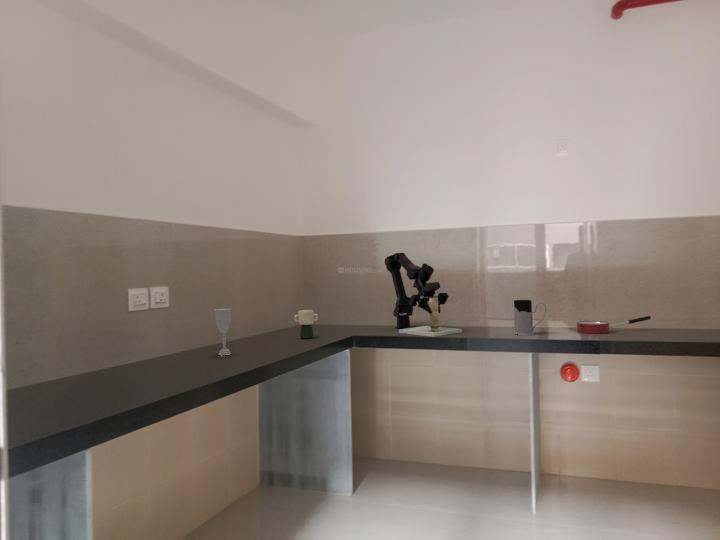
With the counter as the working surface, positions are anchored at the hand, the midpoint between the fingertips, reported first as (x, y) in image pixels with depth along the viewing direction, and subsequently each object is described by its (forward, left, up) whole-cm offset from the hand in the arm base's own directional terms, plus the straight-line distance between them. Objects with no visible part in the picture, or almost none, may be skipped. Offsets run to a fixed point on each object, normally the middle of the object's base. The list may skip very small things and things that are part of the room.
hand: (435, 313), depth 243 cm
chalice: (-27, -91, -10) cm, 96 cm away
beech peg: (-1, 0, -8) cm, 8 cm away
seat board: (-8, +4, -10) cm, 14 cm away
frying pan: (+54, +56, -10) cm, 79 cm away
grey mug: (+31, +27, -10) cm, 42 cm away
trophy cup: (-41, -44, -10) cm, 61 cm away
